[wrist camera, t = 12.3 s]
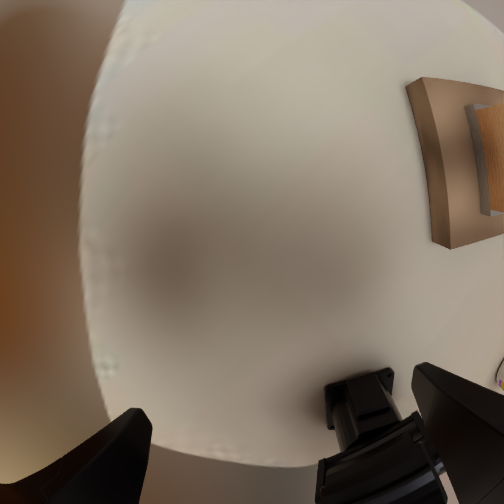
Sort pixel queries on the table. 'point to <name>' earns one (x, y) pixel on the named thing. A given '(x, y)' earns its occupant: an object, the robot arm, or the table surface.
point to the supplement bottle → (501, 376)
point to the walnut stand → (452, 159)
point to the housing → (488, 154)
